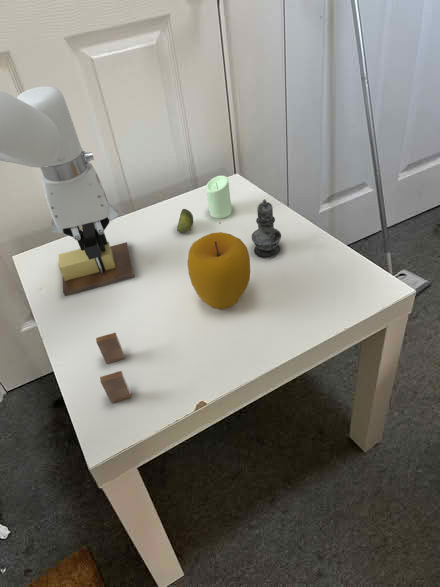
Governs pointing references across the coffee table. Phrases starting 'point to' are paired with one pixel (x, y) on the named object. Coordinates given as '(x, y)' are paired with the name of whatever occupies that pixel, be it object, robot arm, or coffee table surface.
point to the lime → (185, 221)
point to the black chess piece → (266, 233)
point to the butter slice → (107, 257)
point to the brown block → (115, 381)
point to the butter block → (76, 264)
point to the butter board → (104, 273)
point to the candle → (219, 197)
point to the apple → (219, 269)
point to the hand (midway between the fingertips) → (95, 249)
